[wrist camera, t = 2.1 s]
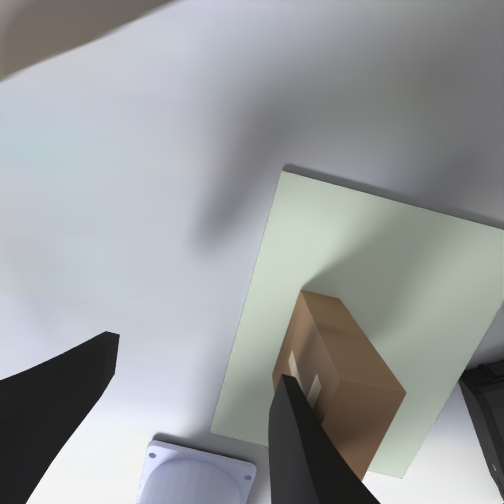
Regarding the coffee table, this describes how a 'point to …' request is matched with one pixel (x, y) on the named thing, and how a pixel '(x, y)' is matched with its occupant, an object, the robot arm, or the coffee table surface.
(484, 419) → the film camera
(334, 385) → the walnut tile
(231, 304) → the coffee table surface
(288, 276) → the mat
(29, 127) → the coffee table surface
